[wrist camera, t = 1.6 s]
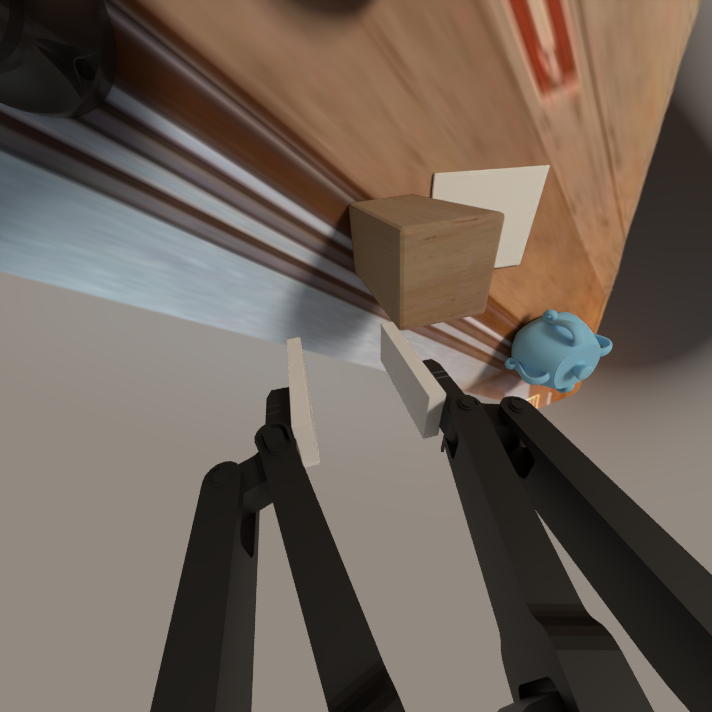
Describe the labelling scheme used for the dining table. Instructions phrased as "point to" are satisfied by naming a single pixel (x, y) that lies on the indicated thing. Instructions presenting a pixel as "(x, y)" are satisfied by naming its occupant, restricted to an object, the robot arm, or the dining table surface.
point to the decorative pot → (556, 351)
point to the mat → (498, 201)
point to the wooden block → (425, 256)
